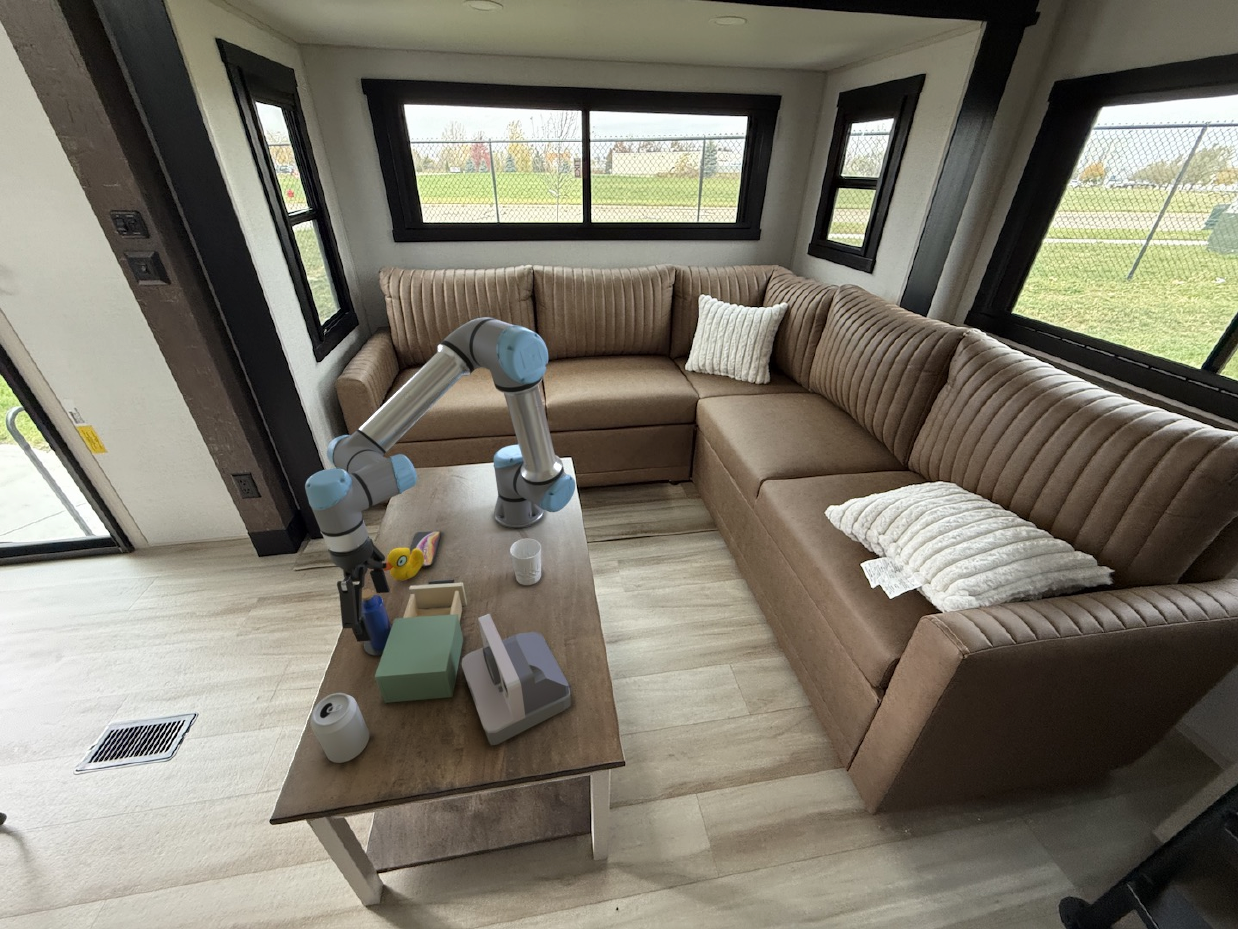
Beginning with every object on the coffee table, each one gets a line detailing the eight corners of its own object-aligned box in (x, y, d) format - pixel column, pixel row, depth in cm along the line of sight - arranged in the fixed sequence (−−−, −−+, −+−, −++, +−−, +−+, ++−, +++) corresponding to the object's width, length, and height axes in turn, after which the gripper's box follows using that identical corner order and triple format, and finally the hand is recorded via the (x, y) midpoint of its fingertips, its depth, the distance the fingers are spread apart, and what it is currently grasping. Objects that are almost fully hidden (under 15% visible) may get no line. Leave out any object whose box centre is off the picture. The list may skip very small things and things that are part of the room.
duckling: (394, 594, 127) (384, 567, 121) (382, 584, 130) (372, 557, 124) (431, 568, 135) (424, 541, 129) (419, 559, 137) (411, 532, 132)
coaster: (370, 628, 118) (370, 627, 118) (405, 626, 119) (405, 625, 118) (359, 657, 111) (358, 656, 111) (396, 654, 112) (396, 653, 112)
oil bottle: (397, 630, 117) (382, 583, 109) (391, 648, 113) (375, 601, 105) (374, 632, 116) (357, 585, 108) (367, 650, 112) (349, 603, 104)
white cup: (537, 589, 129) (535, 560, 124) (509, 584, 131) (505, 556, 125) (547, 568, 136) (545, 540, 131) (520, 564, 137) (516, 536, 132)
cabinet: (402, 644, 114) (394, 618, 110) (463, 639, 116) (457, 614, 111) (384, 703, 102) (374, 677, 97) (452, 697, 103) (445, 671, 99)
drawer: (419, 593, 126) (414, 573, 123) (469, 589, 128) (465, 570, 124) (401, 651, 111) (394, 631, 108) (458, 647, 113) (453, 626, 109)
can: (336, 727, 97) (318, 690, 91) (376, 724, 98) (360, 687, 92) (320, 767, 91) (299, 730, 85) (362, 764, 92) (344, 726, 85)
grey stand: (462, 662, 110) (451, 615, 103) (552, 636, 117) (549, 590, 109) (474, 753, 94) (462, 706, 86) (579, 717, 100) (577, 670, 92)
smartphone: (441, 530, 147) (431, 565, 135) (442, 532, 148) (432, 568, 135) (415, 531, 146) (403, 567, 134) (416, 533, 147) (403, 569, 134)
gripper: (350, 505, 109) (373, 575, 120) (301, 589, 88) (335, 664, 99) (385, 503, 110) (406, 573, 121) (345, 586, 89) (374, 661, 100)
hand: (374, 614), depth 110 cm, fingers open, 13 cm apart
